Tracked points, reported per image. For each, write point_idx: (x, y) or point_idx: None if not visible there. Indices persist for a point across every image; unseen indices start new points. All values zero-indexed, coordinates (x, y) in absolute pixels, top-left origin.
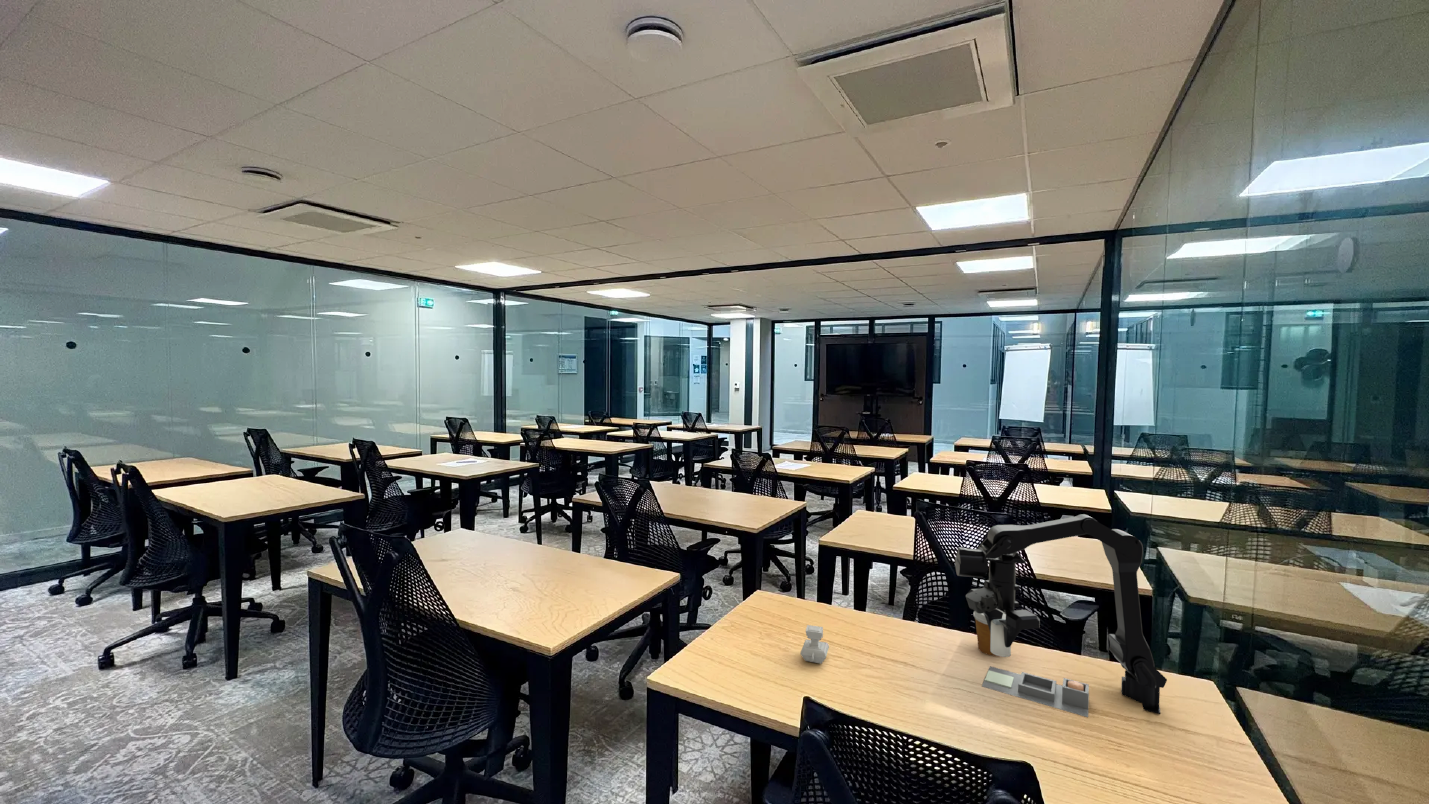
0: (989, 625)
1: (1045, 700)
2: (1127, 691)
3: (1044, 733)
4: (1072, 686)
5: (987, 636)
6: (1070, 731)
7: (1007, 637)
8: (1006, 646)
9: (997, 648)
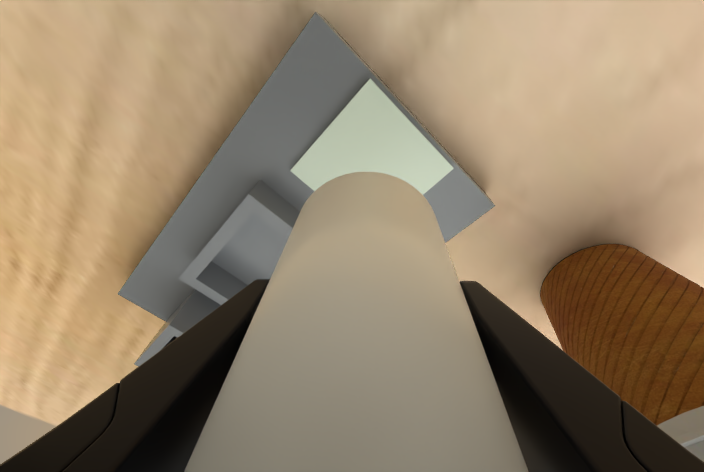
0: (556, 386)
1: (201, 240)
2: None
3: (16, 99)
4: None
5: (653, 326)
6: (70, 204)
7: (148, 365)
8: (253, 284)
9: (310, 213)
